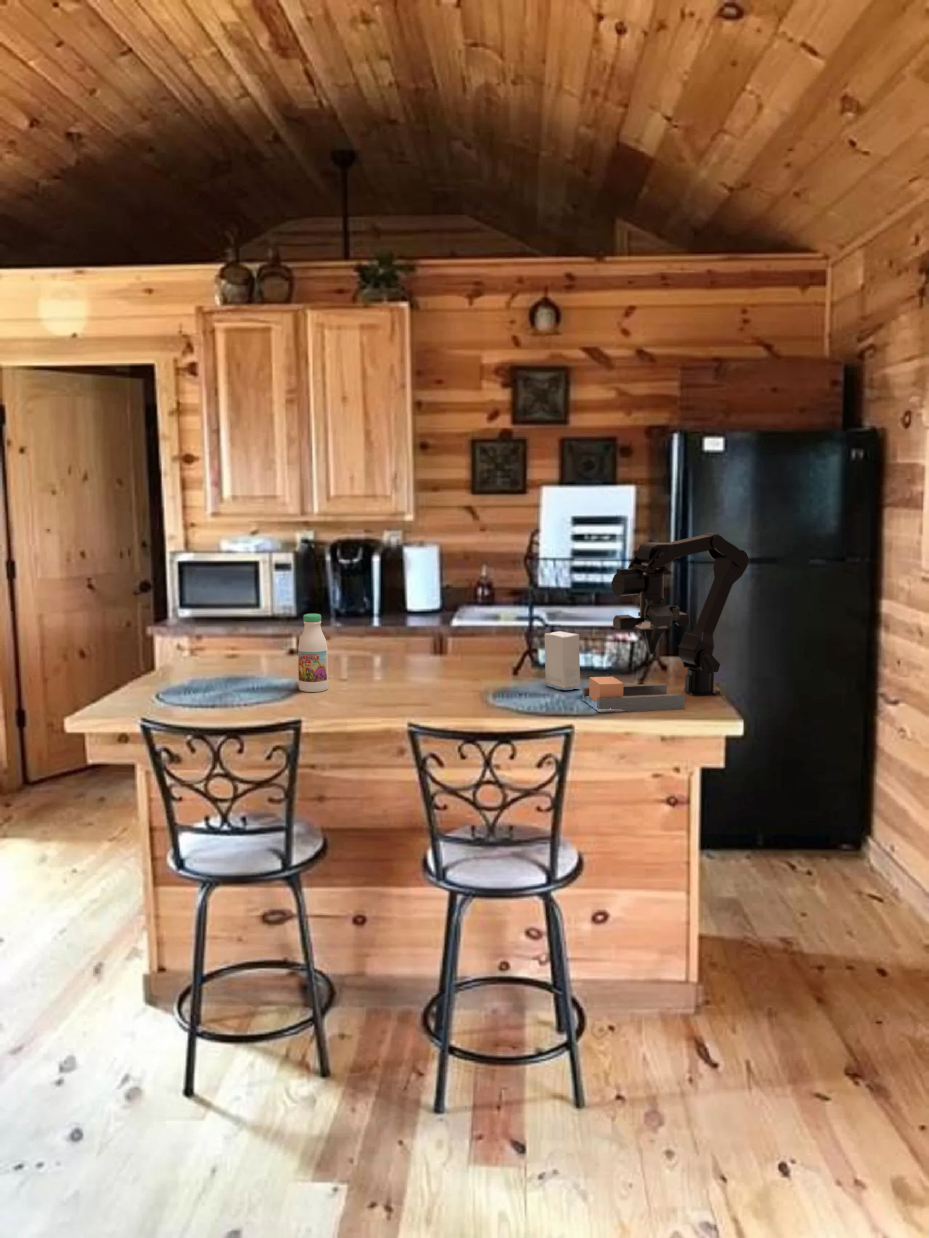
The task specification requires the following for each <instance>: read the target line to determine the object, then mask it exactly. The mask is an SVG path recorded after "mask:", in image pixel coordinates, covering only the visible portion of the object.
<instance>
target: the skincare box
mask: <svg viewBox="0 0 929 1238" xmlns="http://www.w3.org/2000/svg"><path fill="white" fill-rule="evenodd" d="M580 657H581V655H580V634H579V633H572V632H566V631H553V632H546V633H544V663H545V664H544V665H545V667H544V669H545V672H544V673H545V684H546V683H550V684H553V685H555V686H559V687H562V688H568V687H574V686H580V687H581V668H580V661H581V660H580Z"/></svg>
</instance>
